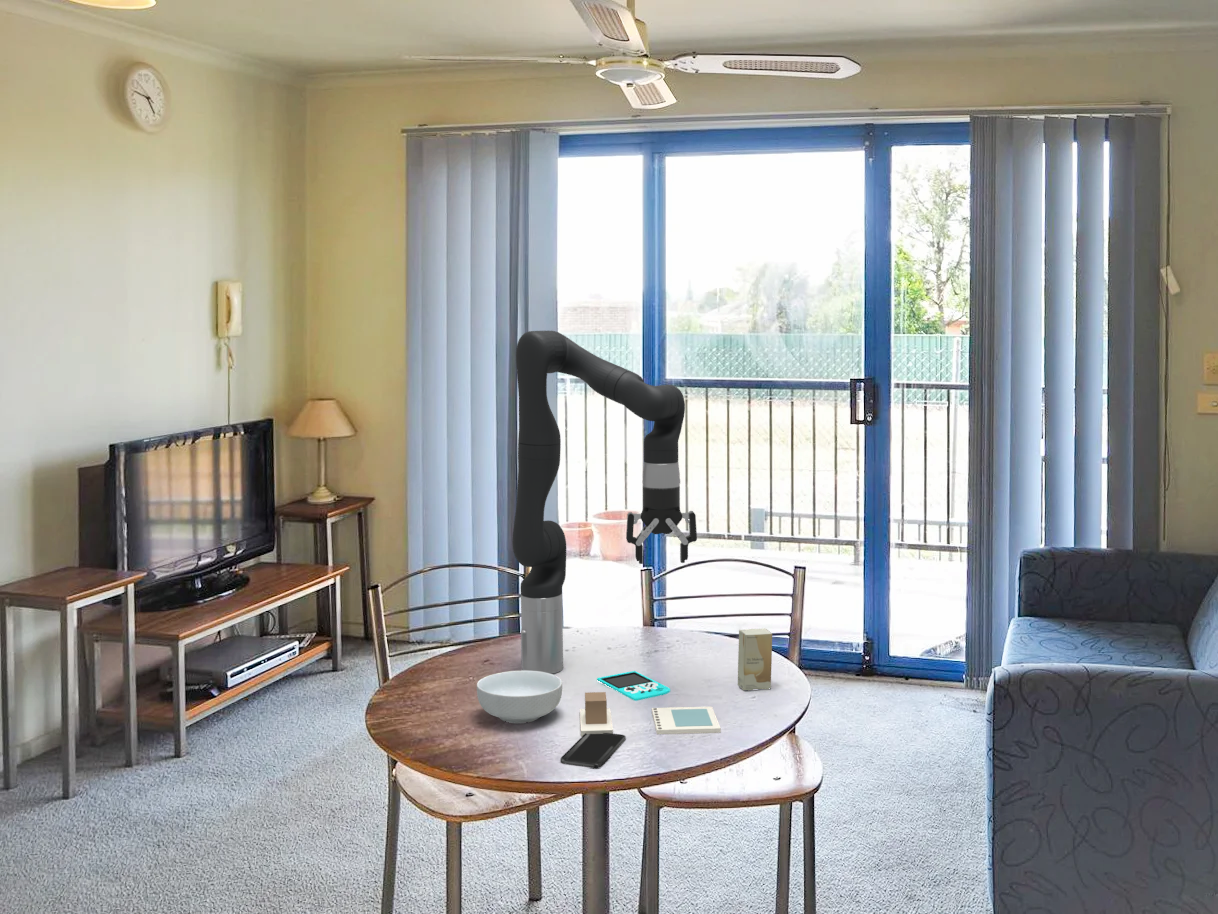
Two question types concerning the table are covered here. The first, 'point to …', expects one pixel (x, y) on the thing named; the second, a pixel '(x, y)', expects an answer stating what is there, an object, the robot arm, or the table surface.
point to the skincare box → (754, 659)
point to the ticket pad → (685, 720)
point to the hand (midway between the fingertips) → (661, 562)
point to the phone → (593, 750)
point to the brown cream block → (595, 714)
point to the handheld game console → (634, 685)
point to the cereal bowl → (519, 695)
